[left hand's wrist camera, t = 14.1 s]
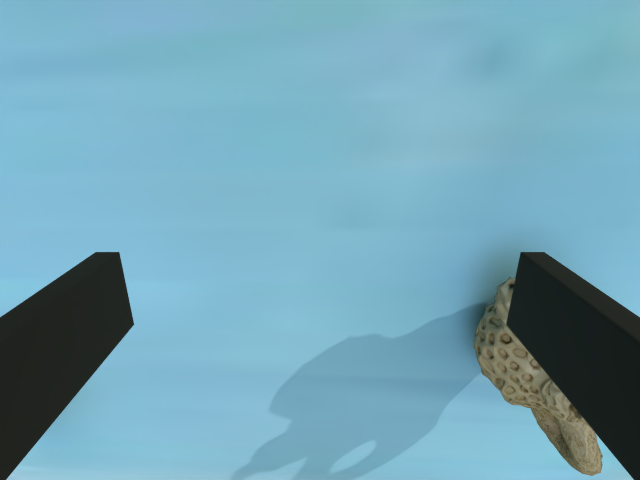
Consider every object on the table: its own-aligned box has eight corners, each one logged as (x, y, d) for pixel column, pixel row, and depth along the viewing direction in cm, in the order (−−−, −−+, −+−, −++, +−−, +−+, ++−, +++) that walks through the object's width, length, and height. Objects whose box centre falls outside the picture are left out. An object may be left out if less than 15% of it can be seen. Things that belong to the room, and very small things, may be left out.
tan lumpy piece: (436, 269, 42) (494, 355, 28) (538, 229, 41) (654, 299, 26) (487, 404, 49) (554, 527, 35) (576, 375, 47) (684, 491, 33)
